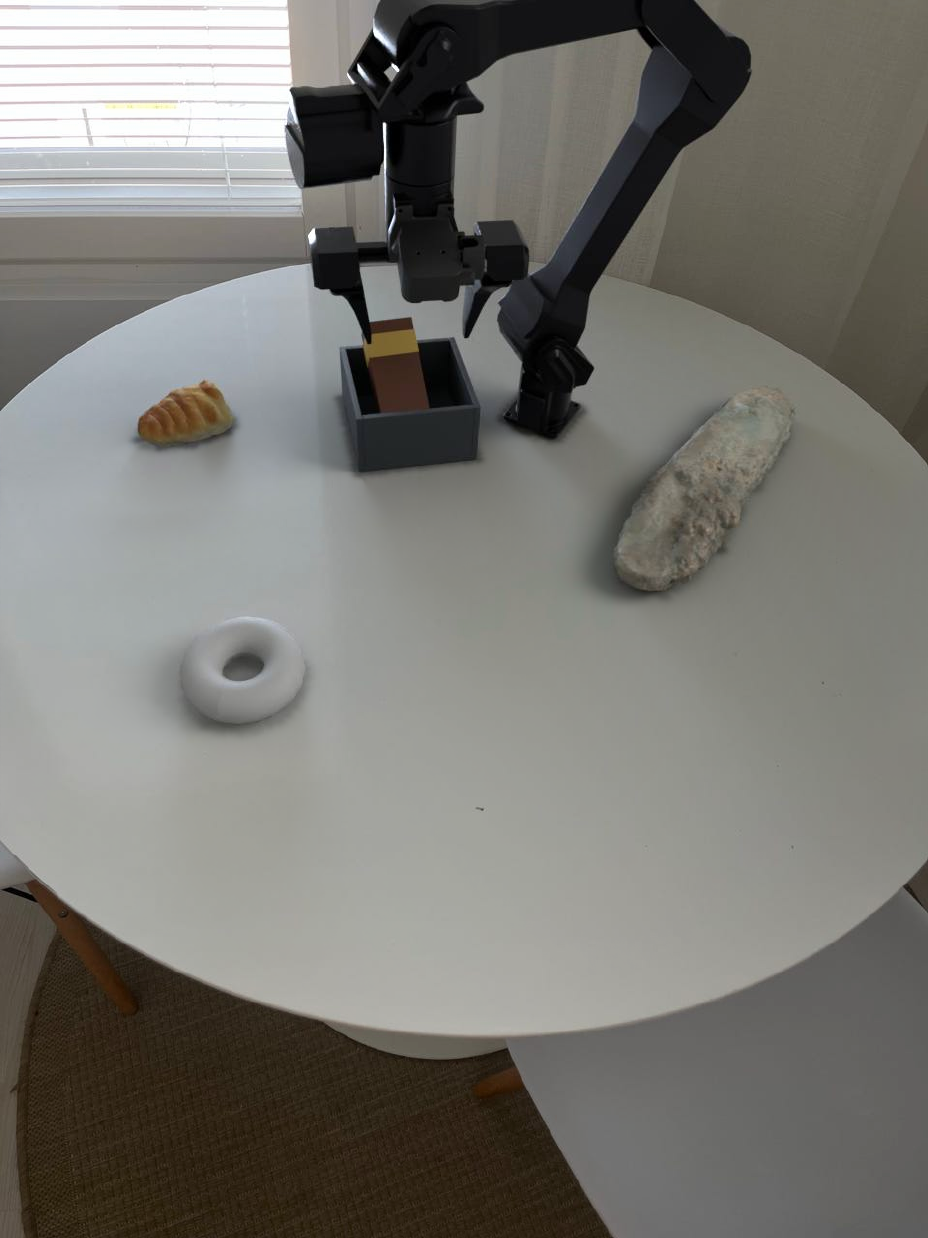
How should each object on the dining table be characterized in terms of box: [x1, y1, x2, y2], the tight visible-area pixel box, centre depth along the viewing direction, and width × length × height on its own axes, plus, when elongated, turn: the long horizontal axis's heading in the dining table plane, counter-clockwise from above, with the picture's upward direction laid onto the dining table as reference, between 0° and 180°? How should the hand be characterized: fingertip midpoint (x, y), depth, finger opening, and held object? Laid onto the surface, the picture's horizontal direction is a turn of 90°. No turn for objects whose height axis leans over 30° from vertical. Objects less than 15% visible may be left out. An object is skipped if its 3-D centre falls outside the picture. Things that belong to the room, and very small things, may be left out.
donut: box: [179, 615, 307, 725], centre depth 73 cm, size 10×3×10 cm
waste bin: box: [338, 336, 482, 473], centre depth 94 cm, size 12×12×7 cm
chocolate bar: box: [361, 316, 430, 414], centre depth 93 cm, size 3×5×12 cm
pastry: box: [137, 379, 235, 448], centre depth 93 cm, size 9×7×4 cm
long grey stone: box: [613, 385, 797, 592], centre depth 91 cm, size 35×5×10 cm
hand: (417, 338), depth 86 cm, fingers open, 9 cm apart
